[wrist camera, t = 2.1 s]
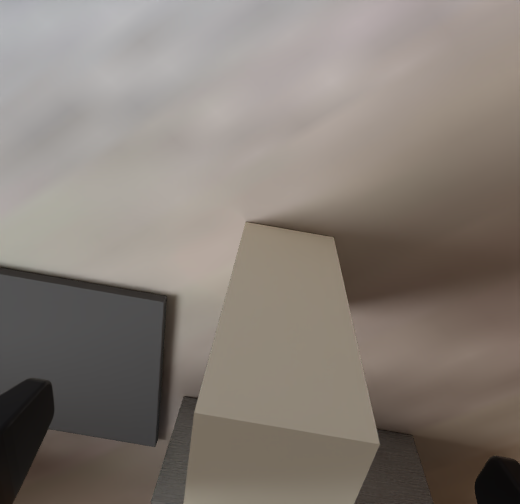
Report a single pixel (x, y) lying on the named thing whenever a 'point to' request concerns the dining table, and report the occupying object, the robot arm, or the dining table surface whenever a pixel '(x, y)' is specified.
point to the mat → (86, 352)
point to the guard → (370, 495)
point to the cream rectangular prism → (282, 382)
